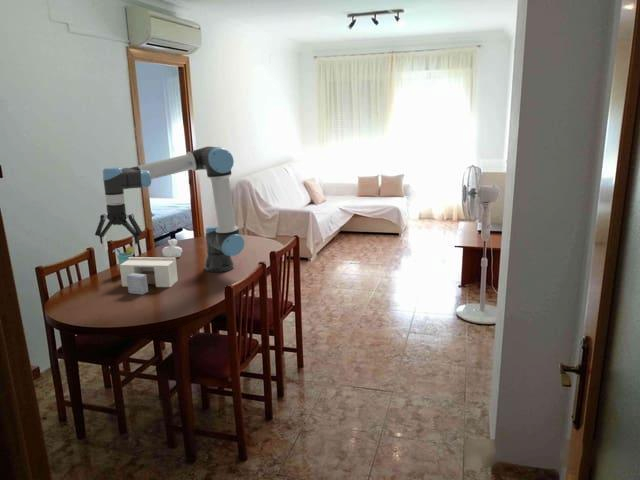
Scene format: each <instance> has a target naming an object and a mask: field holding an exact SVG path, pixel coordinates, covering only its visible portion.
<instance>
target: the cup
mask: <svg viewBox="0 0 640 480" xmlns="http://www.w3.org/2000/svg"><path fill="white" fill-rule="evenodd" d="M111 252H112V253H115V252H118V254H116V257H117V258H118V259H117V260H118V263H119V265H120V264H122V263H124V262H125V261H127V260H128V258H129V257H134V255H135V254H136V252H134V248H133V245H132V246H131V245H129V246H128V247H126V249H125V252H121V251H120V249H119V248H115V249H114V250H112V251H111Z"/></svg>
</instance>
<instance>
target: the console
mask: <svg viewBox="0 0 640 480" xmlns="http://www.w3.org/2000/svg"><path fill="white" fill-rule="evenodd" d="M177 268H178V266H177V257H175V258H173V257H170V258H168V257H161V256H160V257H157V256H156V257H152V256H151V257H143V256H139V257H137V256H132V257H129V258H128V260H127V261H125V262H124V263H122V264H119V271H120V279H121V286H122V287H128V284H127V276H128V275H130V274H132V273H136V274H146V277H147V285H155V287H156V288H171V287H172V286H174V284H176V282H179V281H178V279H179V278H178V269H177Z"/></svg>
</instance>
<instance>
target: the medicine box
mask: <svg viewBox="0 0 640 480" xmlns="http://www.w3.org/2000/svg"><path fill="white" fill-rule="evenodd" d="M127 284H128V286H127V291H128V294H131V295H132V294H133V295H145V294H146V293H148V292H149V284H147V277H146V274H136V273H132V274H130V275H128V276H127Z"/></svg>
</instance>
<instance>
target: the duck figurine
mask: <svg viewBox="0 0 640 480" xmlns="http://www.w3.org/2000/svg"><path fill="white" fill-rule="evenodd" d="M167 243H168V244H169V246H165V247H163V248H162V249H161V250H162V255H163V257H164V258H180V257H181V255H182V252H183V248H182V247H180V246H177V245H178V240H177V239H176V238H171V239H168V240H167Z"/></svg>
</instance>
